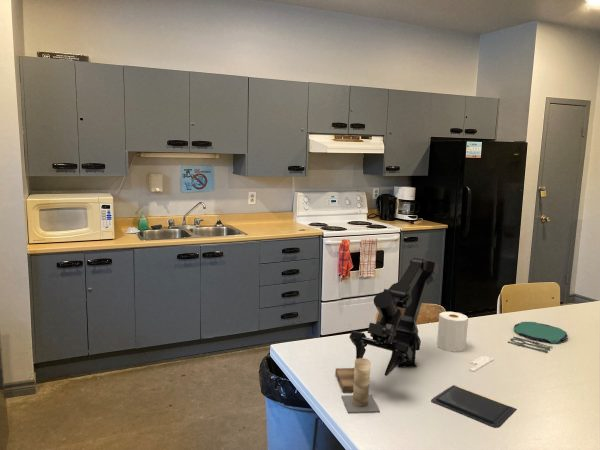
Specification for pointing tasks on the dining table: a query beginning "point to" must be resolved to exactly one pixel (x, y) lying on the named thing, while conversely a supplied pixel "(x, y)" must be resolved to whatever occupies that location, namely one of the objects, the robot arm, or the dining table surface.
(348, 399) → the support pad
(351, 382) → the walnut slab
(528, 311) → the dining table surface
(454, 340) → the toilet paper
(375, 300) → the robot arm
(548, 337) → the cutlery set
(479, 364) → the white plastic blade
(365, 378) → the birch roller
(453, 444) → the dining table surface
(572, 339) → the dining table surface
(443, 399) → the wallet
